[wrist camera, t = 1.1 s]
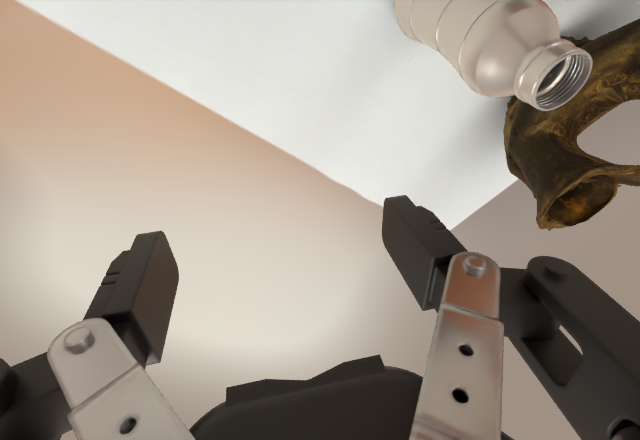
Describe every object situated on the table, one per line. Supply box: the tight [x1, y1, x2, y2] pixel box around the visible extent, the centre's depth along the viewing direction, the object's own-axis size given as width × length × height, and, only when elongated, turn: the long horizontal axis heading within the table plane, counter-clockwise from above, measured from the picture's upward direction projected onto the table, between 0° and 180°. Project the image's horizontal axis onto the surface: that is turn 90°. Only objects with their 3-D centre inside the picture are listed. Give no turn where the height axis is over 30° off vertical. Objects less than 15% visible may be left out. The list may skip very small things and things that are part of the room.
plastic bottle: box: [394, 0, 593, 111], centre depth 26 cm, size 6×7×20 cm
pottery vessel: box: [504, 19, 640, 231], centre depth 37 cm, size 25×11×20 cm, turn 143°
